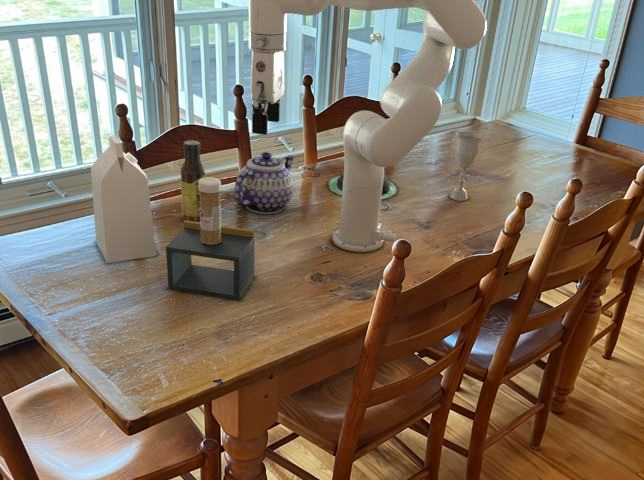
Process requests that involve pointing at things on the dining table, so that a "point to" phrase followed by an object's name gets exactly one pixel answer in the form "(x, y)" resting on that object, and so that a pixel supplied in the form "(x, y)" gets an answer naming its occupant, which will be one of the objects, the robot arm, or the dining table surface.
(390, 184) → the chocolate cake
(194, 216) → the sauce bottle
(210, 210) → the sprinkles bottle
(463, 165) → the chalice
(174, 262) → the shelf
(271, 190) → the teapot
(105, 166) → the milk
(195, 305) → the dining table surface
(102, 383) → the dining table surface
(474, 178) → the dining table surface
